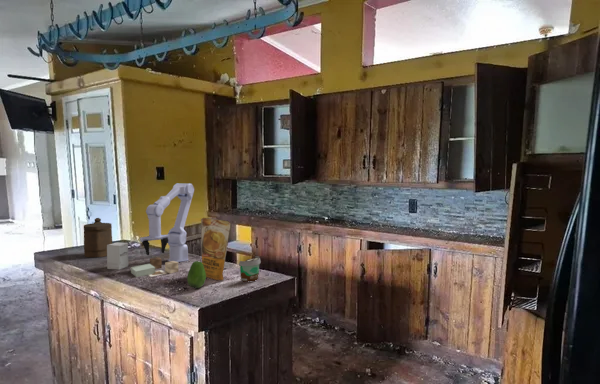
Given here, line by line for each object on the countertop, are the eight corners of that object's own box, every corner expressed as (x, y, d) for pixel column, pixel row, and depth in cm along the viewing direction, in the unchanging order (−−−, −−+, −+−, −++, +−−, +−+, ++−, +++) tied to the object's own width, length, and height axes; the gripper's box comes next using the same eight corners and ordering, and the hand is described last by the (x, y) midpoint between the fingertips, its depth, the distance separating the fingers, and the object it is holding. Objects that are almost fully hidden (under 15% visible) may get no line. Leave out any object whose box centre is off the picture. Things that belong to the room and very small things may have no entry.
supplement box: (119, 270, 189) (119, 245, 188) (106, 269, 190) (106, 244, 189) (129, 266, 196) (128, 242, 195) (116, 265, 197) (116, 242, 196)
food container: (249, 284, 167) (249, 263, 166) (239, 282, 170) (238, 261, 169) (265, 277, 177) (266, 257, 177) (255, 275, 181) (255, 255, 180)
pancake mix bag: (206, 271, 187) (206, 216, 185) (232, 279, 175) (232, 220, 173) (195, 274, 182) (195, 218, 180) (221, 282, 170) (221, 222, 168)
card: (161, 270, 188) (161, 269, 188) (167, 274, 182) (167, 273, 182) (145, 273, 183) (145, 272, 183) (150, 277, 177) (150, 276, 177)
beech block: (173, 270, 189) (172, 260, 188) (178, 272, 186) (178, 262, 186) (165, 272, 185) (165, 262, 185) (170, 274, 183) (170, 264, 182)
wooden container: (99, 251, 230) (98, 215, 228) (118, 253, 225) (117, 217, 223) (78, 256, 216) (76, 219, 214) (97, 258, 211) (96, 220, 209)
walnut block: (158, 266, 196) (158, 257, 195) (161, 268, 192) (161, 259, 192) (149, 268, 193) (149, 258, 192) (152, 270, 189) (152, 260, 189)
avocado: (204, 290, 159) (204, 263, 158) (185, 290, 158) (185, 263, 157) (207, 284, 167) (207, 258, 166) (189, 284, 166) (189, 258, 165)
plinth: (149, 269, 189) (149, 263, 189) (155, 273, 182) (155, 267, 182) (131, 273, 183) (130, 267, 183) (136, 277, 176) (135, 271, 176)
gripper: (142, 230, 183) (143, 257, 184) (171, 227, 192) (172, 253, 193) (138, 228, 189) (139, 254, 190) (166, 225, 198) (167, 250, 199)
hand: (155, 253), depth 192 cm, fingers open, 7 cm apart
